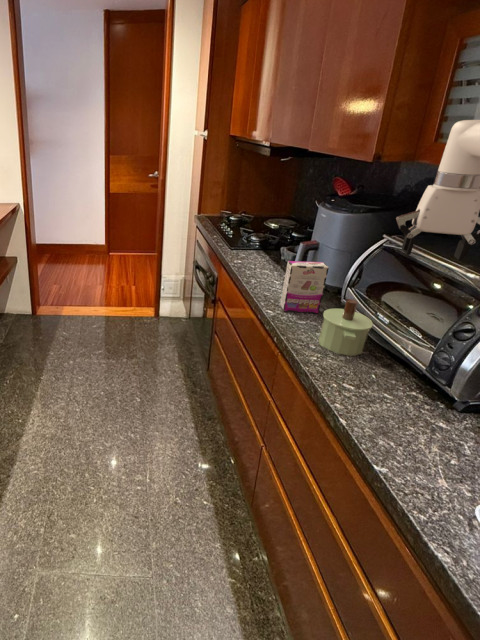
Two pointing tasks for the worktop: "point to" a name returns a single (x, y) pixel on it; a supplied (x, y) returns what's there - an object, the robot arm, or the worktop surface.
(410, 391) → the worktop surface
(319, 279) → the candy bar box
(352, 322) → the lid
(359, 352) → the pot
